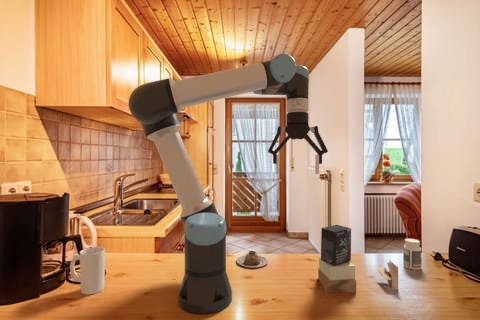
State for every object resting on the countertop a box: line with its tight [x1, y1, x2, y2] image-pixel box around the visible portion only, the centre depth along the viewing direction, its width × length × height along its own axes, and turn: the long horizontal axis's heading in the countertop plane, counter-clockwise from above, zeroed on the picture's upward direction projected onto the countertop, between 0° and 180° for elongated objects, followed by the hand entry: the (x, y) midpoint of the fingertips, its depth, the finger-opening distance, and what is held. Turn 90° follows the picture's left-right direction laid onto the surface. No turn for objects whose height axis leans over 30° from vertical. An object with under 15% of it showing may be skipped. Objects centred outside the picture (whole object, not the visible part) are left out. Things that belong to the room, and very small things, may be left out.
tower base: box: [317, 266, 357, 294], centre depth 85 cm, size 9×9×4 cm
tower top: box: [318, 256, 356, 280], centre depth 85 cm, size 8×8×4 cm
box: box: [320, 224, 352, 266], centre depth 85 cm, size 8×6×11 cm
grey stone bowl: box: [236, 250, 269, 269], centre depth 103 cm, size 12×12×5 cm
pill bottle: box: [402, 238, 423, 271], centre depth 99 cm, size 6×6×10 cm
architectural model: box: [377, 259, 399, 291], centre depth 85 cm, size 3×7×7 cm, turn 174°
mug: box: [69, 246, 106, 296], centre depth 82 cm, size 10×7×12 cm, turn 91°
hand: (297, 173), depth 93 cm, fingers open, 13 cm apart
